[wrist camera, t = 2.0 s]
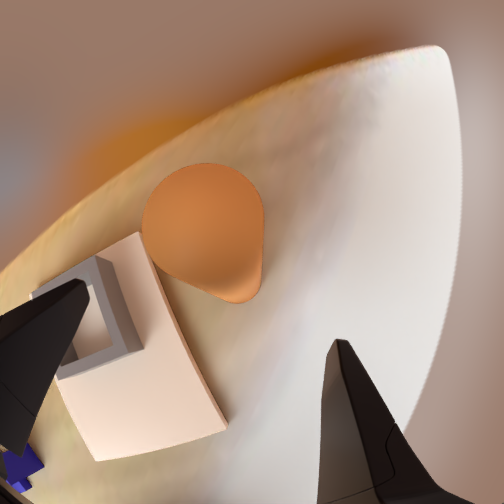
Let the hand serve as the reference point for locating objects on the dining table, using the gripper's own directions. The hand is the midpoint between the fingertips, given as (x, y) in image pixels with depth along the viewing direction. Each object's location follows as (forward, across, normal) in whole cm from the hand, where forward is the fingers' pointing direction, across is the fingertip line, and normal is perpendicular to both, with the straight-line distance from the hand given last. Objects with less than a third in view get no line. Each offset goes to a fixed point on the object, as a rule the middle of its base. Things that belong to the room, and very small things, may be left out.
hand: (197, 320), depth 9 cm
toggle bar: (+9, 0, +5) cm, 10 cm away
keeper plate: (+3, +8, +11) cm, 14 cm away
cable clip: (-10, +20, +25) cm, 33 cm away
